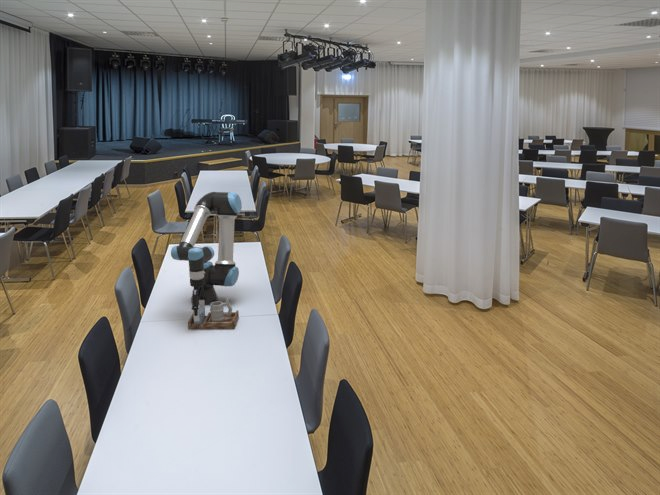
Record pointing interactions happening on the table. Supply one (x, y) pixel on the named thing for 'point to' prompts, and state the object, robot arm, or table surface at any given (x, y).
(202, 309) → the blue-grey rectangular block
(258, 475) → the table surface
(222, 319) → the mug
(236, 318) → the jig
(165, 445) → the table surface
